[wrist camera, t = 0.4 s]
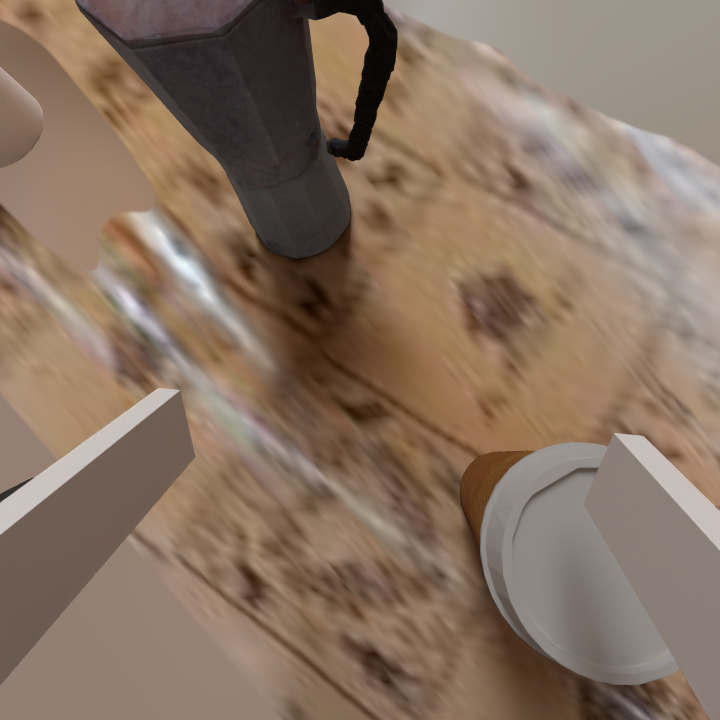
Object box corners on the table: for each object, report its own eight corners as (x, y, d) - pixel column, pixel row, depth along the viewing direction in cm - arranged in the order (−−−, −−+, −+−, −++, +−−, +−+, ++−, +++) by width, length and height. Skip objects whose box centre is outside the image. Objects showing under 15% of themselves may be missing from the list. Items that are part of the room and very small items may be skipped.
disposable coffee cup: (560, 430, 26) (714, 446, 14) (571, 563, 24) (754, 706, 13) (436, 429, 26) (483, 443, 15) (439, 559, 25) (496, 693, 13)
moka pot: (244, 149, 31) (15, -301, 12) (403, 185, 30) (454, -260, 10) (209, 241, 30) (-115, -89, 10) (374, 283, 29) (367, -7, 9)
